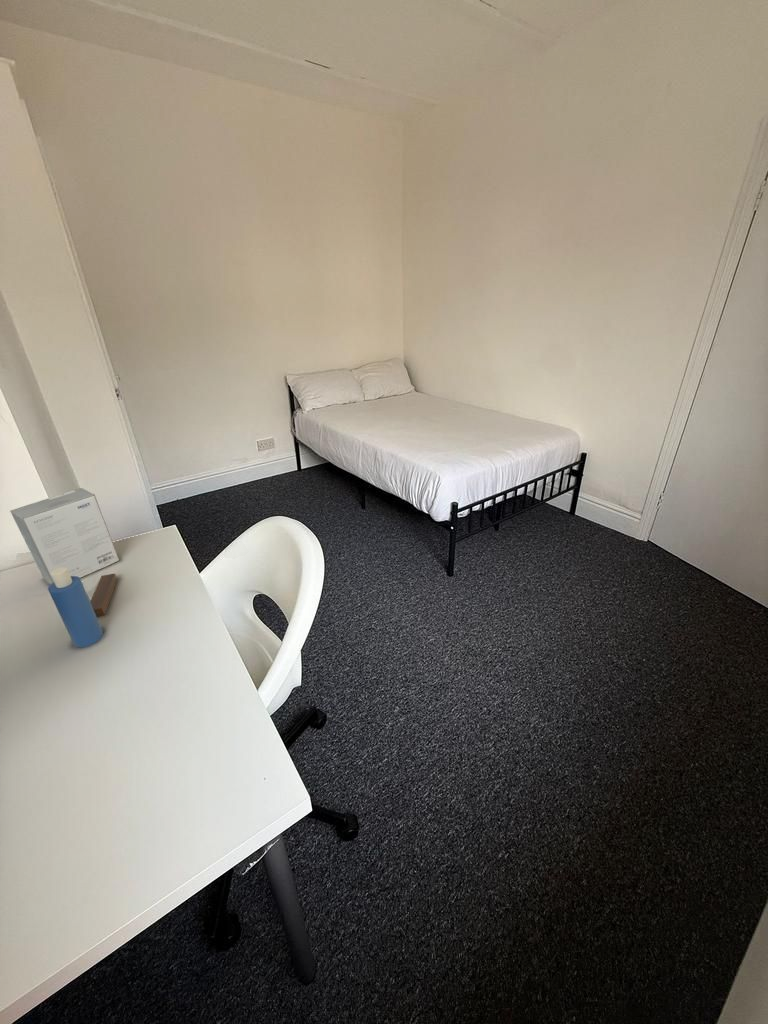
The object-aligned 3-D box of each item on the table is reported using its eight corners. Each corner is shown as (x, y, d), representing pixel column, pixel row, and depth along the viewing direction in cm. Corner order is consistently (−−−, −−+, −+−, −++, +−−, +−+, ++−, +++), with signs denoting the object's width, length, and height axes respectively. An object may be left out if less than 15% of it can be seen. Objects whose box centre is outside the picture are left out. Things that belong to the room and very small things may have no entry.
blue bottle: (70, 650, 83) (37, 581, 76) (77, 633, 88) (47, 566, 80) (100, 643, 85) (70, 575, 77) (105, 627, 89) (78, 561, 82)
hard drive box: (107, 552, 116) (83, 487, 107) (120, 561, 112) (96, 493, 103) (42, 579, 105) (8, 509, 96) (54, 590, 101) (20, 518, 92)
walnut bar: (88, 618, 92) (85, 611, 91) (103, 582, 104) (101, 575, 103) (104, 615, 93) (101, 608, 92) (117, 579, 105) (114, 573, 104)
